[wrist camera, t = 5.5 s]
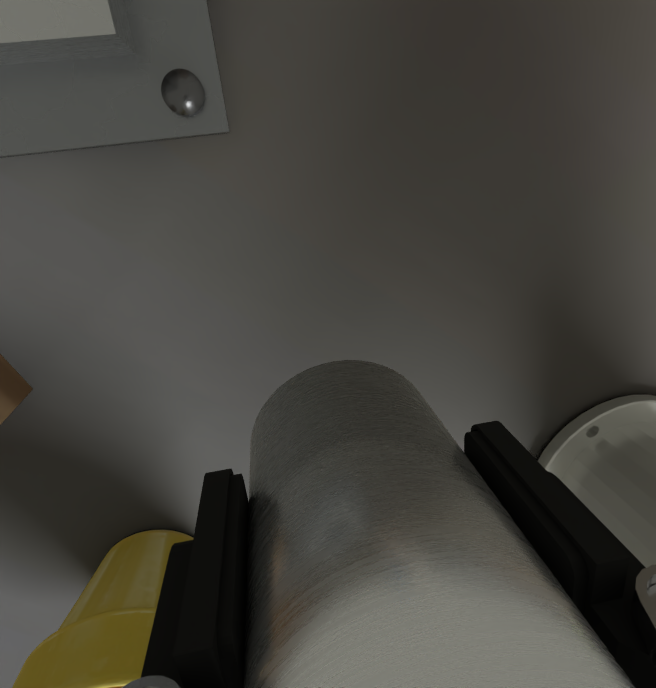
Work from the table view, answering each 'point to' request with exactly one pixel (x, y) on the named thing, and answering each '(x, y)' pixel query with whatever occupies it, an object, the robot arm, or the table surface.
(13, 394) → the wooden cube
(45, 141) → the square metal socket
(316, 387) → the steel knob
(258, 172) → the table surface
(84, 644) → the plant pot
